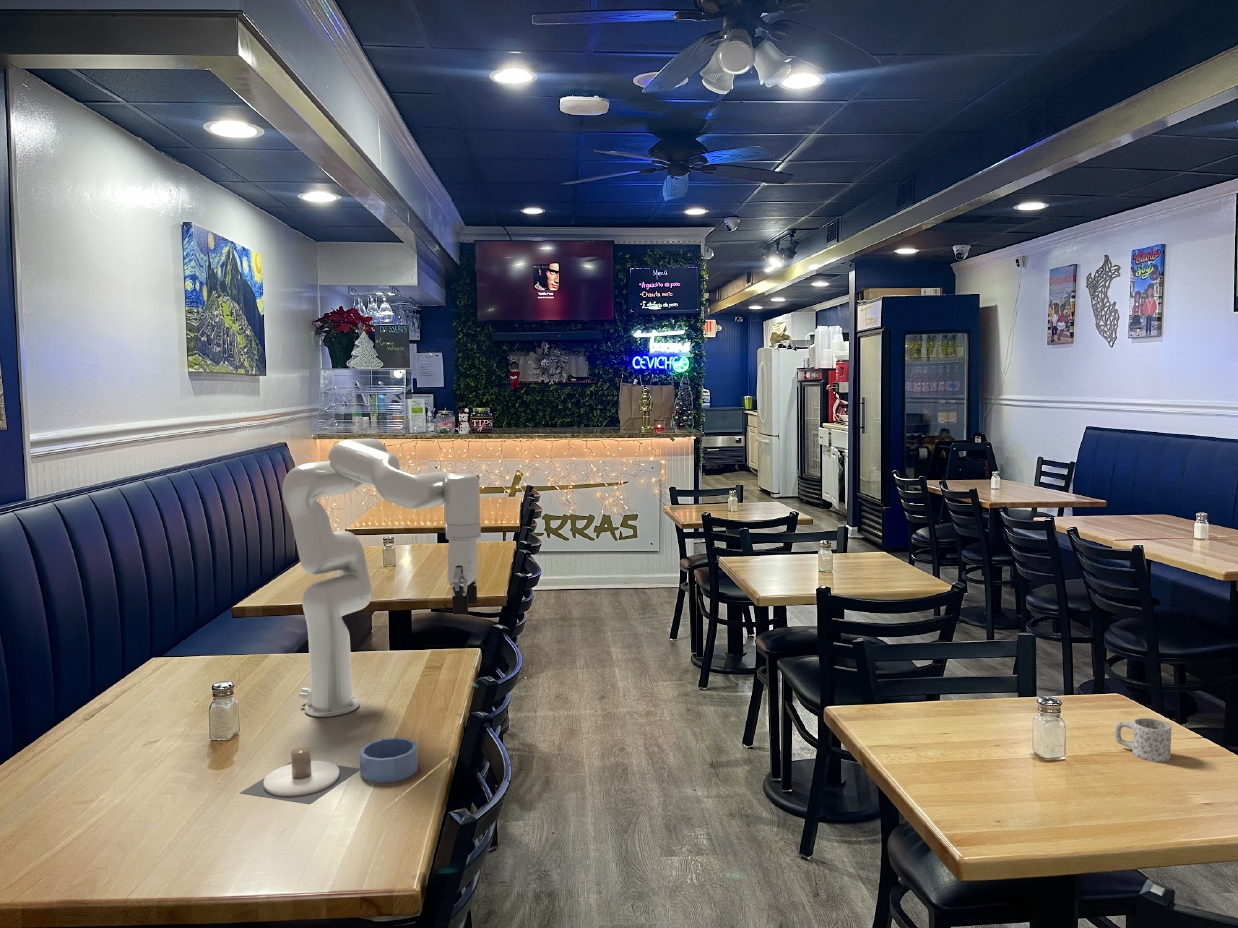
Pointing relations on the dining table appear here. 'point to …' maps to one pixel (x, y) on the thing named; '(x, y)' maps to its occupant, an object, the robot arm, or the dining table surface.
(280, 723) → the dining table surface
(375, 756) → the bowl
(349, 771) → the mat
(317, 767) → the lid
